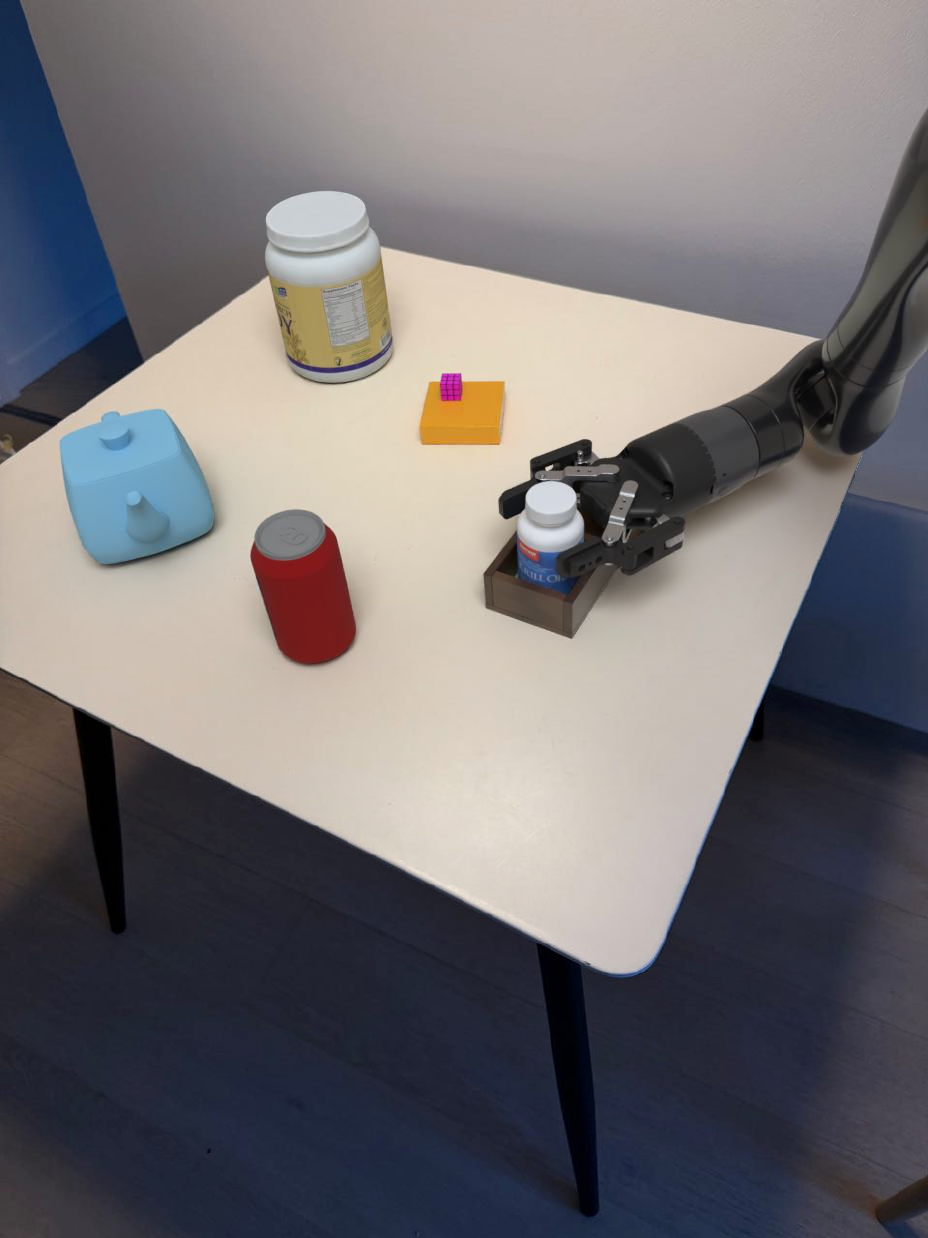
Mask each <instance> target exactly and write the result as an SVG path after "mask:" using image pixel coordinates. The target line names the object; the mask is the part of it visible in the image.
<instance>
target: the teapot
mask: <svg viewBox="0 0 928 1238" xmlns="http://www.w3.org/2000/svg"><path fill="white" fill-rule="evenodd" d="M100 420H101V421H99V422H96V423H93V424H90V425H87V426H84V427H81V428H78V429H76V430H73V431H71V432H69V433H67V434H65V435H63V436H62V437H61V438H60V440H59V453H60V462H61V471H62V478H63V485H64V491H65V495H66V500H67V504H68V507H69V511H70V514H71V517H72V518H71V519H72V520H73V523H74V526H75V529H76V531H77V535H79V536H78V537H79V539H80V541H81V544H82V547H83V548H84V550H85V551H86V552H87V554H88V555H90V557H91V558H92V559H94V560H95V561H96V562H97V563H99V564H102V565H111V564H117V563H123V562H130V561H132V560H136V559H140V558H144V557H147V556H148V557H149V556H151V555H155V554H159V553H162V552H165V551H167V550H170V549H173V548H175V547H178V546H180V545H182V544H186V543H189V542H191V541H193V540H194V539H197V538H199V537H201V536H203V535H205V534H206V533H209V531H211V530H212V528H213V525H214V517H215V509H214V503H213V500H212V495H211V492H210V489H209V486H208V483H207V480H206V477H205V475H204V473H203V471H202V469H201V466H200V464H199V462H198V460H197V458H196V456H195V454H194V453H193V450H192V449H191V447H190V445H189V443H188V441H187V440H186V438H185V436H184V435H183V433H182V432H181V430H180V428H179V427H178V425H177V424H176V423H175V421H174V420H173V418H171V416H170V415H169V414H168V413H167V411H166V410H165V409H163V408H162V409H161V408H152V409H151V408H150V409H146V410H141V411H135V412H132V413H128V414H124V415H121V414H120V412H118V411H114V410H113V411H108V412H106V413H104V414H103V415H102V416H101V417H100Z"/></svg>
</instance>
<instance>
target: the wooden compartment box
mask: <svg viewBox="0 0 928 1238" xmlns="http://www.w3.org/2000/svg"><path fill="white" fill-rule="evenodd" d="M582 482H583V480H577V481H574V482H573V490H574V491H575V493H577V494H580V486H581V484H582ZM577 510H578V511H579V512H580V514H581V515H582V518H583V521H584V541H586V540H589V539H591V538H593V537H595V536H596V537H597V538H598V539H599V540H601V539H602V535H603V533H604V531H605V529H606V527H604V528H602V527H601V526H600V525H599V524H598V523H597V522H596V520H595V518H594V517H593V516H591V515H589V514H587V513H586V512H585V511H583V510H582V509H581V507H577ZM642 532H643V529H633V530H632V531H631V533H630V535H629V537H628V540H627V542H628V541H630V540H632V539H634V538H636V537H637V536H639V535H641V533H642ZM584 541H583V542H584ZM618 569H619V567H618V566H616V565H614V564H613V565H605V564H603V565H600V566H598V567H596V568H594V569H592V570H590V571H588V572H586V573H584V574H582V575H581V576H580V578H579V579H578V580H577V582H576V583H575V585H574V586H573V588H572V589H571V591H570V592H569V594H568V595H566V594H563V593H560V592H557V591H554V590H551V589H549V588H546V587H543V586H540V585H537V584H534V583H531V582H528V581H525V580H522V579H519V578H518V552H517V529H516V530H515V531H514V533H513V534H512V535H511V537H510V538H509V539H508V540H507V542H506V543H505V544H504V546H503V547H502V548H501V549H500V551H499V552H498V554H497V555H496V556H495V558H493V559H492V562H491V563H490V564H489V565H488V566H487V568H486V569H485V571H484V572H483V573H482V575H483V591H484V600H485V602H484V603H485V604H484V605H485V608H486V609H487V610H489V611H493V612H496V613H499V614H501V615H504V616H508V617H510V618H513V619H515V620H519V621H521V622H523V623H527V624H529V625H532V626H535V627H538V628H541V629H544V630H546V631H550V632H551V633H552V632H553V633H554V634H558V635H561V636H563V637H566V638H569V639H573V638H574V637H575V635H576V633H577V632H578V630H579V629H580V628H581V625H583V623H584V621H585V619H586V618H587V616H588V615H589V613H590V611H591V610H592V608H593V607H594V606H595V604H596V602H597V601H598V599H599V597H600V596H601V595H602V593H603V592H604V590H605V589H606V587H607V585H608V584H609V583H610V581H611V579H612V578H613V576H614V575H615V573H616V571H617V570H618Z"/></svg>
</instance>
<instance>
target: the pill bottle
mask: <svg viewBox="0 0 928 1238" xmlns="http://www.w3.org/2000/svg"><path fill="white" fill-rule="evenodd" d="M516 530H517V552H518V578H519V579H522V580H525V581H528V582H531V583H534V584H537V585H540V586H543V587H546V588H549V589H551V590H554V591H557V592H560V593H563V594H566V595H568V594H569V592H570V591H571V589H572V588H573V586H574V585H575V583H576V582H577V580H578V579H579V578H580V576H581V575H580V576H577V577H570V576H569V577H567V578H564V579H563V578H561V576H560V575H559V574H558V573H557V572H556V557H557V556H558V554H559V553H561V552H563V551H565V550H567V549H569V548H572V547H574V546H576V545H578V544H580V543H582V542H583V541H584V521H583V518H582V515H581V514H580V512H579V511H578V510H577V497H576V493H575V491H574V490H573V489H572V488H571V487H570V486H568V485H566V484H564V483H561V482H556V481H546V482H542V483H539V484H536V485H534V486H533V487H531V488H530V489H529V491H528V492H527V494H526V505H525V509H524V510H523V511H522V513H521V514H519V515H518V518H517V522H516Z"/></svg>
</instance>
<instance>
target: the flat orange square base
mask: <svg viewBox="0 0 928 1238" xmlns="http://www.w3.org/2000/svg"><path fill="white" fill-rule="evenodd" d="M506 399H507V398H506V382H505V380H491V381H490V380H488V381H487V380H484V381H483V380H477V381H476V380H475V381H474V380H473V381H471V380H470V381H469V380H468V381H467V380H466V381H463V379H462V373H460V372H458V373H457V372H454V373H453V372H451V373H448V372H447V373H446V372H445V373H441V377H440V381H429V382H428V387H427V390H426V396H425V400H424V405H423V410H422V414H421V418H420V423H419V432H420V440H421V444H422V445H500V444H501V439H502V431H503V422H504V413H505V406H506Z"/></svg>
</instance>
